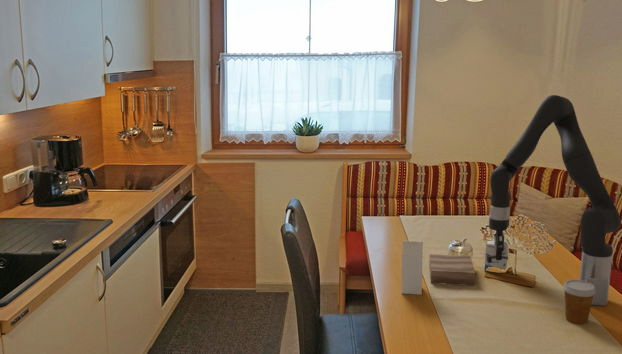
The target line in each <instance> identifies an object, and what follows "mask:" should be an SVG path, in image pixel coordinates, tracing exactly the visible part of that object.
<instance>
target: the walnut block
mask: <svg viewBox="0 0 622 354" xmlns="http://www.w3.org/2000/svg"><path fill="white" fill-rule="evenodd" d="M429 278H430V279H429V280H431V281H430V284H438V283H446V284H445V285H458V284H467V285H466V286H475V284H476V283H475V281H476V280H475V278H476V272H475V268H474V264H473V261H472V257H471V256H470V255H454V254H452V255H449V254H429Z"/></svg>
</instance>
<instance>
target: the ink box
mask: <svg viewBox="0 0 622 354" xmlns="http://www.w3.org/2000/svg"><path fill="white" fill-rule="evenodd" d="M491 240H492V239H491ZM498 248H501V246H498ZM507 260H508V244H507V241H504V251H502V260H496V246H495V245H494V240H492V241H488V240H487V241H486V243H485V255H484V271H485V270H486V269H487V268H488V267H497V268H500V269H505V268H506V266H507Z"/></svg>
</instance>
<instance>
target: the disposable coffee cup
mask: <svg viewBox="0 0 622 354" xmlns="http://www.w3.org/2000/svg"><path fill="white" fill-rule="evenodd" d="M562 288H563V290H564V303H565V304H564V305H565V307H564V308H565V319H566V320H567V321H568V322H570V323H572V324H578V325H584V324H587V323H588V320H589V316H590V313H591V307H592V305H591V304H592V300H593V296H594V294H595V293H596V290H595V287H594V285H593V284H591V283H589V282H586V281H582V280H580V279H569V280H566V281H565V282H564V284H563V286H562Z"/></svg>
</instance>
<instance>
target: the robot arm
mask: <svg viewBox="0 0 622 354" xmlns="http://www.w3.org/2000/svg"><path fill="white" fill-rule="evenodd" d="M552 124H553V125H554V126H555V128H556V130H557V132H558V135H559V139H560V143H561V144H560V145H561V158H562V161H563V165H564V167H565V169H566V172H567V174H568V177H569V178H570V179H571V180H572V181H573V183H575V184H576V185H577V186H578V188H580V189H581V190H582V191H583V192H584V194H585V195H586V196H587V198H588V199H589V201H590V203H591V206H592V207H590V208H588V209H586V210H585V211H584V212H583V213H582V215H581V218H580V219H581V220H580V244H581V247H582V248H581V249H582V250H581V261H580V273H579V280H582V281H586V282H589V283H591V284H593V285H594V287H595V290H596V293H595V294H594V296H593V300H592V304H591V306H604V307H605V306H606V307H607V304H608V302H609V294H610V293H609V292H610V281H611V272H612V260H613V252H614V249H613V246H612V245H611V244H609V243H607V242H606V234H607V235H608V234H610V233H614V232H616V231H617V232H618V230H619V229H620V227H621V223H622V222H621V221H622V220H621V216H620V213H619V211H618V209H617V207H616V205H615V203H614V201H613V199H612V198H611V195H610V194H609V192H608V191H607V188H606V185H605V183H604V181H603V179H602V177H601V175H600V173H599V170H598V168H597V164H596V162H595V160H594V157H593V154H592V152H591V149H590V148H589V146H588V144H587V141H586V139H585V137H584V135H583V132H582V130H581V127H580V125H579V121H578V117H577V114H576V111H575V107H574V105H573V102H571V100H570V99H569V98H567V97H564V96H562V95H557V94H553V95H548V96H546V97H545V98H544V99H543V100H542V101H541V103H540V105H539V106H538V108H537V110H536V112H535V113H534V115H533V116H532V118H531V120H530V122H529V124H528V126H526V128H525V130H524V131H523V133H522V135H521V136H520V137H519V138H518V140H517V141H516V142H515V144H514V145H512V147H511V148H510V149H509V151H508V152H507V154H506V156H505V158H504V159H503V160H502V161H501V163H500V164H499V165H498V166H497V167H496V168H495V169H493V170H492V172H491V174H490V180H489V181H490V183H489V184H490V192H491V196H490V208H489V213H488V215H489V217H488V228H489V229H491V230H492V231H493V230H496V234H493V233H492V236H493V238H494V245H495V246H496V260H502V251H504V242H505V234H504V231H507V230H506V229H507V227H508V226H509V227H510V219H511V217H510V215H511V209H510V206H511V205H510V204H511V193H510V192H509V191H510V190H509V189H510V187H509V185H510V181H511V180H513V179H514V177H515V175H516V174H517V173H518V171H519V170H520V169H521V167H522V166H523V165H524V164H525V163H526V162H527V160H529V159H530V157H531V156H532V155H533V154H534V152H535V151H536V148H537V146H538V143H539V140H540V139H541V137H542V135H543V134H544V132H545V131H546V130H547V129H548V128H549V127H550V126H551V125H552ZM498 246H501V248H498Z"/></svg>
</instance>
